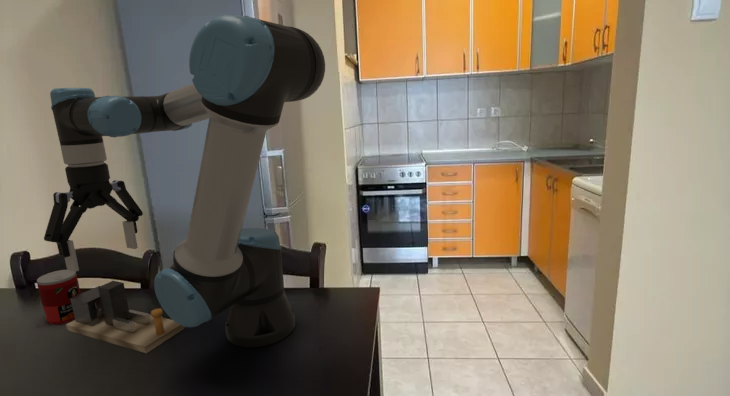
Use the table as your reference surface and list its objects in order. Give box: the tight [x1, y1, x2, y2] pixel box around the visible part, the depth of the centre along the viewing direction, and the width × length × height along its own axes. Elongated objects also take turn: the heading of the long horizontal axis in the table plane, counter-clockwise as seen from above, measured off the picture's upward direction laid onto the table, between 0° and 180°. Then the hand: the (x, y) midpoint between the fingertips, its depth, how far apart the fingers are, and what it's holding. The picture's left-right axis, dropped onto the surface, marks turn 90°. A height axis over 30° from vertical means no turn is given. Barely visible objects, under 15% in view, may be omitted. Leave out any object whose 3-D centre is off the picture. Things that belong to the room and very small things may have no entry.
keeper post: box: [150, 307, 164, 335], centre depth 88 cm, size 2×2×5 cm
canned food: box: [36, 269, 82, 325], centre depth 99 cm, size 8×8×11 cm
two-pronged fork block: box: [96, 280, 151, 332], centre depth 93 cm, size 19×5×9 cm, turn 67°
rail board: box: [65, 312, 185, 354], centre depth 93 cm, size 26×10×2 cm, turn 67°
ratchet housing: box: [70, 285, 102, 326], centre depth 96 cm, size 6×7×6 cm
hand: (104, 258), depth 90 cm, fingers open, 13 cm apart
